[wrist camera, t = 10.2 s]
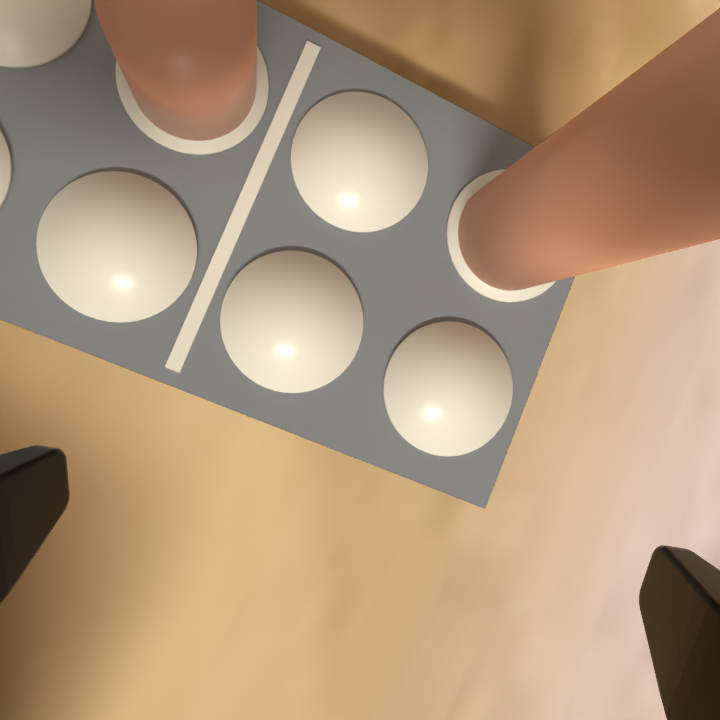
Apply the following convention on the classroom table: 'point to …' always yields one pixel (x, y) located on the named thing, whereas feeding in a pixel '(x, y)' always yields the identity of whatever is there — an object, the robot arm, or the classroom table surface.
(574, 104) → the classroom table surface
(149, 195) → the pattern board
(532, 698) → the classroom table surface
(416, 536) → the classroom table surface
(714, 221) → the terracotta pin
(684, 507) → the classroom table surface
